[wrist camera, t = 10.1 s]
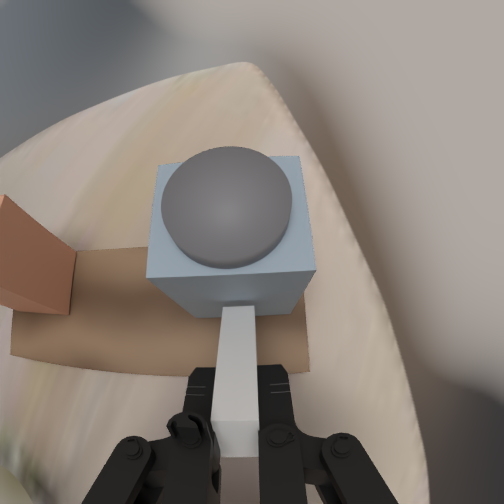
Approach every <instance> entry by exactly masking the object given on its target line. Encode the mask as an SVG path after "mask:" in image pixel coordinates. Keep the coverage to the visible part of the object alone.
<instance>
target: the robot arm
mask: <svg viewBox="0 0 504 504" xmlns="http://www.w3.org/2000/svg"><path fill="white" fill-rule="evenodd" d="M187 386H188V387H187V391H186V396H185V401H184V406H183V412H181V413H179V414H176V415H174V416H173V417H172V418H171V419H170V420H169V421H168V424H167V428H168V430H169V432H170V434H171V436H169V437H168V438H164V439H160V440H155V441H149V442H147V440H145V439H144V438H142V437H138V436H129V437H126V438H124V439H122V440H121V441H120V442H119V443H118V444H117V446H116V447H115V449H114V451H113V452H112V454H111V456H110V457H109V459H108V461H107V462H106V464H105V465H104V467H103V469H102V470H101V472H100V474H99V475H98V477H97V479H96V480H95V482H94V484H93V485H92V487H91V489H90V490H89V492H88V494H87V495H86V497H85V499H84V500H83V502H82V504H220V489H221V466H220V454H221V457H259V485H260V504H307V496H306V488H305V483H306V484H312V485H315V487H316V489H317V491H318V493H319V496H320V498H321V500H322V502H323V504H398V502H397V500H396V499H395V497H394V496H393V494H392V493H391V491H390V489H389V488H388V486H387V485H386V483H385V481H384V480H383V478H382V477H381V475H380V473H379V472H378V470H377V469H376V467H375V465H374V464H373V462H372V461H371V459H370V457H369V456H368V454H367V453H366V451H365V449H364V448H363V446H362V444H361V443H360V441H359V440H358V439H357V438H356V437H355V436H353V435H350V434H348V433H337V434H333V435H331V436H329V437H328V438H327V439H326V438H319V437H313V436H309V435H306V434H304V433H302V432H301V431H300V430H299V429H298V428H297V426H296V424H295V421H294V414H293V407H292V400H291V393H290V386H289V379H288V372H287V371H286V370H285V368H284V367H283V366H282V364H273V365H257V346H256V328H255V310H254V306H234V307H223V311H222V320H221V328H220V337H219V346H218V355H217V364H216V367H196V368H195V369H194V370H193V372H192V373H191V374H190V376H189V380H188V385H187Z"/></svg>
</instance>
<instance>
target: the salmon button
mask: <svg viewBox="0 0 504 504" xmlns="http://www.w3.org/2000/svg"><path fill="white" fill-rule="evenodd" d="M75 257H76V252H75V251H74V250H73V249H71V248H70V247H69V246H67V245H66V244H65V243H63V242H62V241H61V240H60V239H58V238H57V237H56V236H54V235H53V234H52V233H51V232H49V231H48V230H47V229H46V228H44V227H43V226H42V225H41V224H39V223H38V222H37V221H36V220H34V219H33V218H32V217H31V216H30V215H28V214H27V213H26V212H25V211H24V210H22V209H21V208H20V207H19V206H18V205H17V204H15V203H14V202H13V201H12V200H11V199H10V198H9V197H7V196H6V195H5V194H4V195H0V305H3V306H6V307H8V308H11V309H14V310H16V311H21V312H33V313H46V314H62V315H69V306H70V296H71V287H72V278H73V271H74V264H75Z"/></svg>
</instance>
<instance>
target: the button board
mask: <svg viewBox="0 0 504 504" xmlns="http://www.w3.org/2000/svg"><path fill="white" fill-rule="evenodd" d="M147 257H148V247H138V248H122V249H106V250H91V251H76V257H75V264H74V271H73V278H72V287H71V296H70V306H69V315H62V314H46V313H33V312H21V311H16V310H14V309H13V318H12V331H11V354H10V355H14V356H18V357H22V358H27V359H32V360H37V361H42V362H47V363H53V364H58V365H65V366H71V367H78V368H85V369H92V370H101V371H110V372H119V373H131V374H144V375H161V376H190V374H191V373H192V372H193V370H194V369H195V368H196V367H216V364H217V355H218V346H219V337H220V328H221V320H222V317H217V318H195V317H194V316H193V315H191V314H190V313H189V312H187V311H186V310H185V309H184V308H182V307H181V306H180V305H179V304H177V303H176V302H175V301H173V300H172V299H171V298H170V297H169V296H167V295H166V294H165V293H164V292H162V291H161V290H160V289H159V288H157V287H156V286H155V285H154V284H153V283H151V282H150V281H149V280H148V279H147V278H146V270H147ZM255 328H256V346H257V365H273V364H282V366H283V367H284V368H285V370H286V371H287V372H288V374H289V373H301V372H310V369H309V354H308V340H307V327H306V315H305V303H304V292H303V294H302V295H301V297H300V299H299V300H298V302H297V304H296V305H295V307H294V309H293V310H292V312H291V314H282V315H265V316H255Z"/></svg>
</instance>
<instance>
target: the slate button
mask: <svg viewBox="0 0 504 504" xmlns="http://www.w3.org/2000/svg"><path fill="white" fill-rule="evenodd" d="M315 271H316V264H315V256H314V248H313V240H312V233H311V226H310V219H309V212H308V205H307V199H306V192H305V186H304V180H303V174H302V168H301V162H300V157H299V156H271V157H267V156H265V155H264V154H262V153H260V152H257V151H255V150H251V149H248V148H243V147H233V146H232V147H218V148H214V149H209V150H206V151H203V152H201V153H199V154H197V155H195V156H193V157H191V158H190V159H188V160H187V161H185V162H183V163H173V164H165V165H159V166H158V172H157V179H156V185H155V193H154V200H153V208H152V216H151V225H150V235H149V245H148V257H147V270H146V278H147V279H148V280H149V281H150V282H151V283H153V284H154V285H155V286H156V287H157V288H159V289H160V290H161V291H162V292H164V293H165V294H166V295H167V296H169V297H170V298H171V299H172V300H173V301H175V302H176V303H177V304H179V305H180V306H181V307H182V308H184V309H185V310H186V311H187V312H189V313H190V314H191V315H193V316H194V317H195V318H217V317H222V311H223V307H234V306H254V310H255V316H265V315H282V314H291V312H292V310H293V309H294V307H295V305H296V304H297V302H298V300H299V299H300V297H301V295H302V294H303V292H304V290H305V289H306V287H307V285H308V283H309V282H310V280H311V278H312V277H313V275H314V273H315Z"/></svg>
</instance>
